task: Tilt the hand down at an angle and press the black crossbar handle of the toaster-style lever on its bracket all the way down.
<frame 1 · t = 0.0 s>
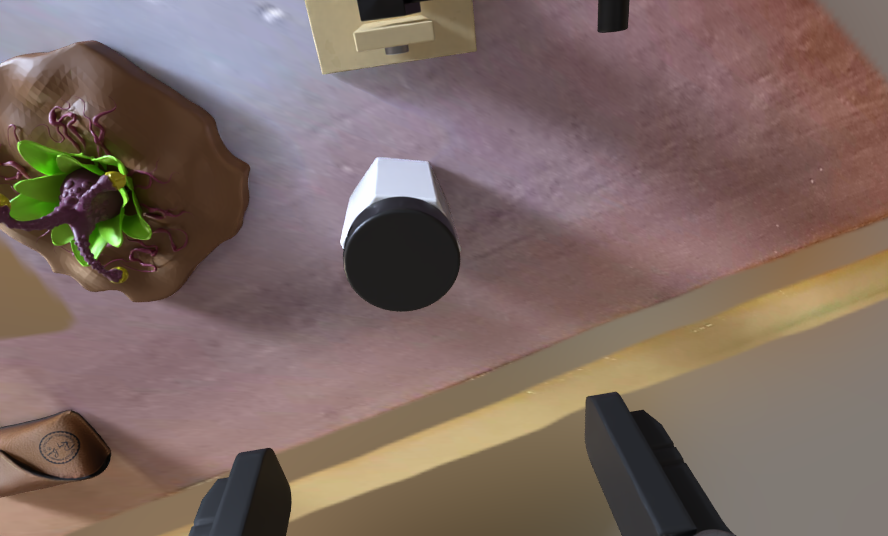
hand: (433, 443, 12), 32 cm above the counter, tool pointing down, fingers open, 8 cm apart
jar: (399, 199, 43), on the counter
sunglasses case: (20, 446, 53), on the counter
plant: (116, 175, 40), on the counter
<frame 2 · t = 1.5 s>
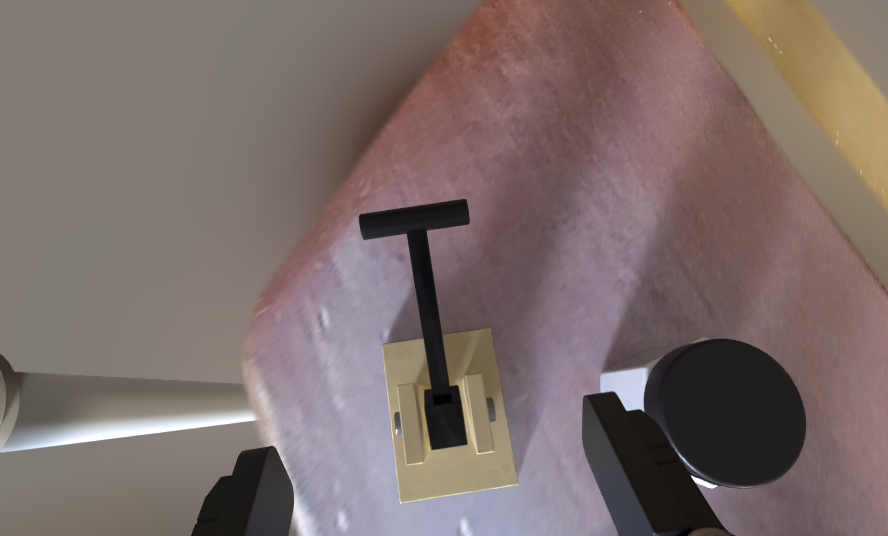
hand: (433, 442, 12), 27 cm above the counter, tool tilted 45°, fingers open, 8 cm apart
jar: (647, 406, 38), on the counter
lever: (431, 327, 28), point 12 cm above the counter, hinge at 25.0°
bracket: (447, 411, 38), on the counter
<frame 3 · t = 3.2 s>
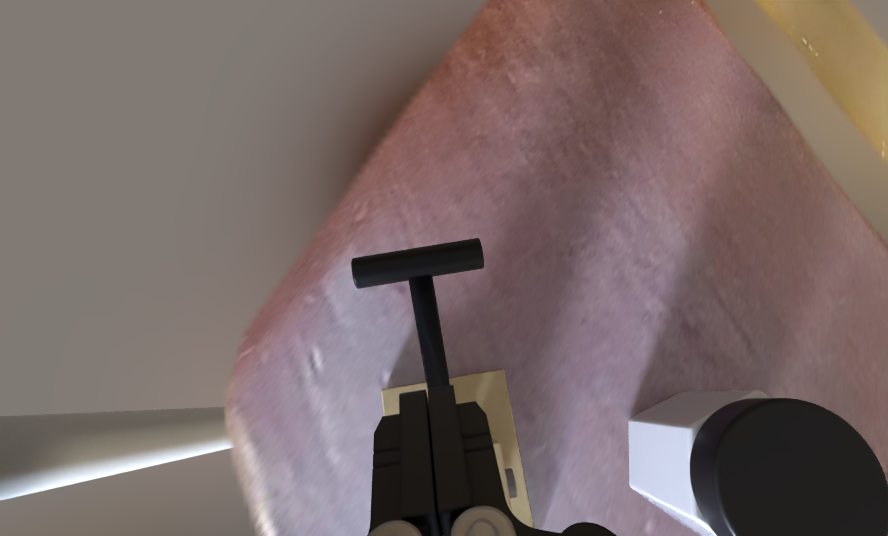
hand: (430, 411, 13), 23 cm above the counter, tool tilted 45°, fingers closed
jar: (682, 456, 34), on the counter
lever: (439, 389, 23), point 12 cm above the counter, hinge at 25.0°
bracket: (456, 465, 34), on the counter
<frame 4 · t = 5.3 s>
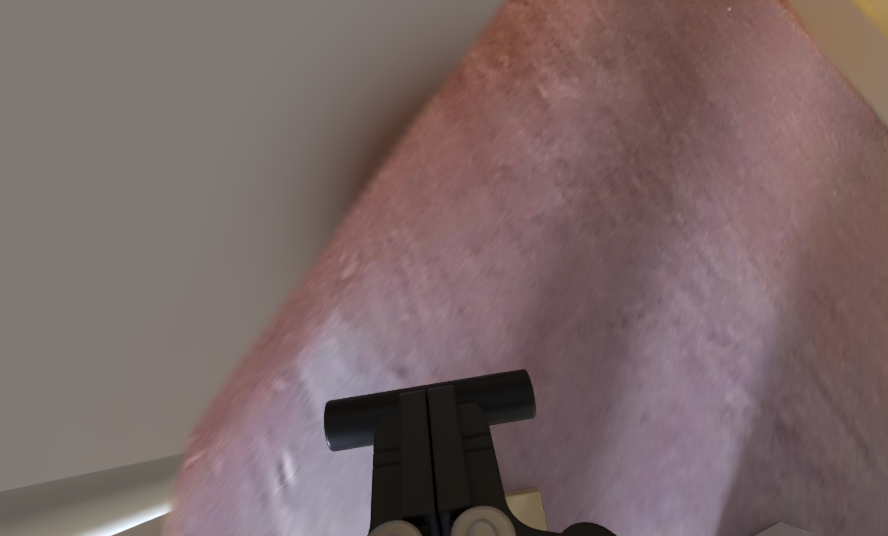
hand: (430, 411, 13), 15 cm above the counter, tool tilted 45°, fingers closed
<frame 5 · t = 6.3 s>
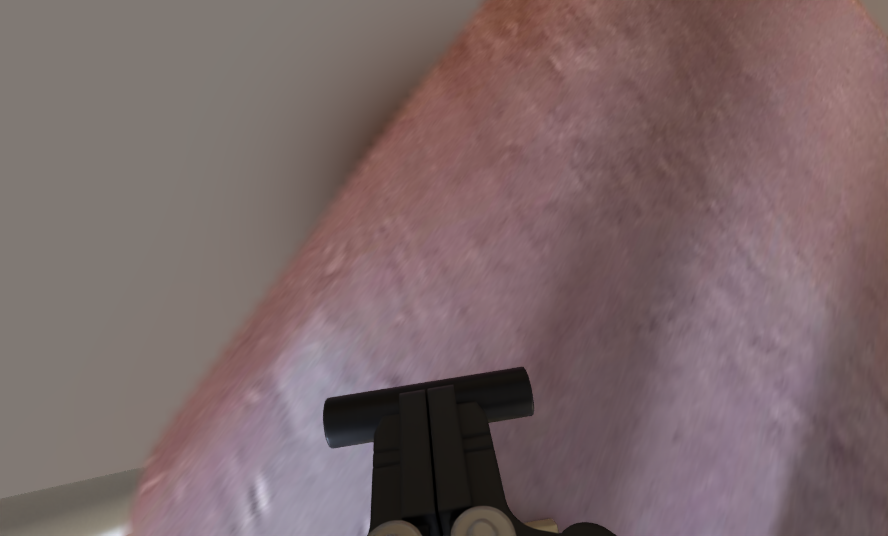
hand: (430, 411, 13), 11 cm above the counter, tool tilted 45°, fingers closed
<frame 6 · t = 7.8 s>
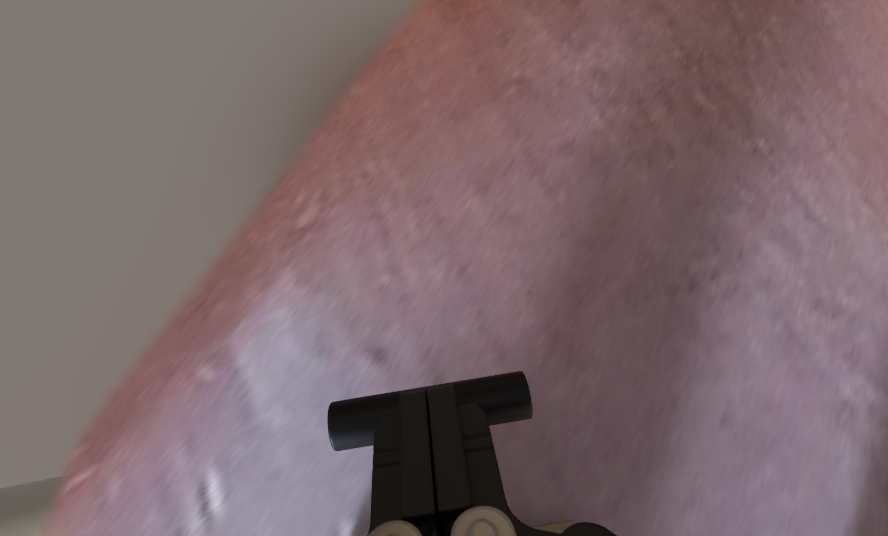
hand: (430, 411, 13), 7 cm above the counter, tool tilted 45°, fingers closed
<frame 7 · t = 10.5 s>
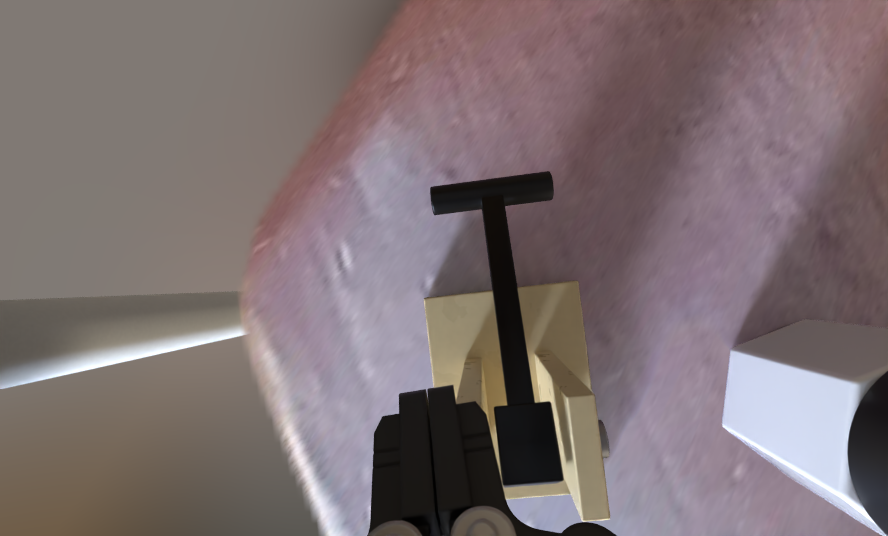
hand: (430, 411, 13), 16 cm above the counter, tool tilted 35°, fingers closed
jar: (792, 395, 27), on the counter
lever: (507, 310, 21), point 8 cm above the counter, hinge at -24.5°
bracket: (511, 388, 29), on the counter
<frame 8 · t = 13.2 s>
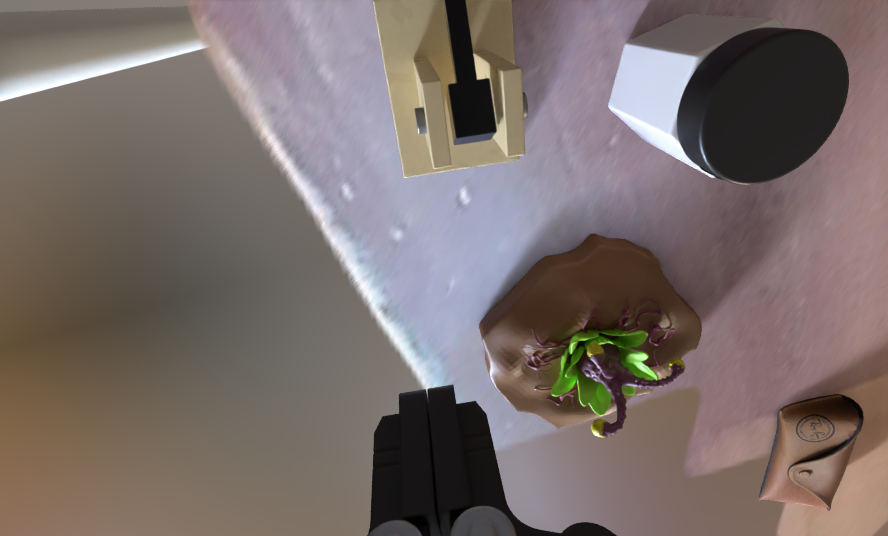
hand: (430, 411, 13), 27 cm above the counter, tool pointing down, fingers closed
jar: (662, 80, 36), on the counter
lever: (454, 5, 25), point 8 cm above the counter, hinge at -24.5°
bracket: (451, 84, 35), on the counter
sunglasses case: (795, 447, 60), on the counter
plant: (580, 332, 47), on the counter
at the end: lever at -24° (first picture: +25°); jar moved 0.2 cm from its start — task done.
